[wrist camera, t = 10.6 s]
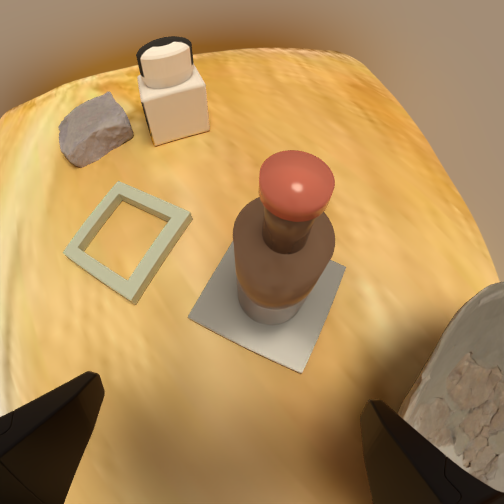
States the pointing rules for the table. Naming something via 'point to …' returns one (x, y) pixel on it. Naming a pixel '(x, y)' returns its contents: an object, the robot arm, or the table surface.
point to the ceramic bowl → (466, 389)
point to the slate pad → (259, 335)
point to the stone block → (93, 130)
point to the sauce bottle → (283, 237)
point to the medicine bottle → (171, 90)
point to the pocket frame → (153, 257)
